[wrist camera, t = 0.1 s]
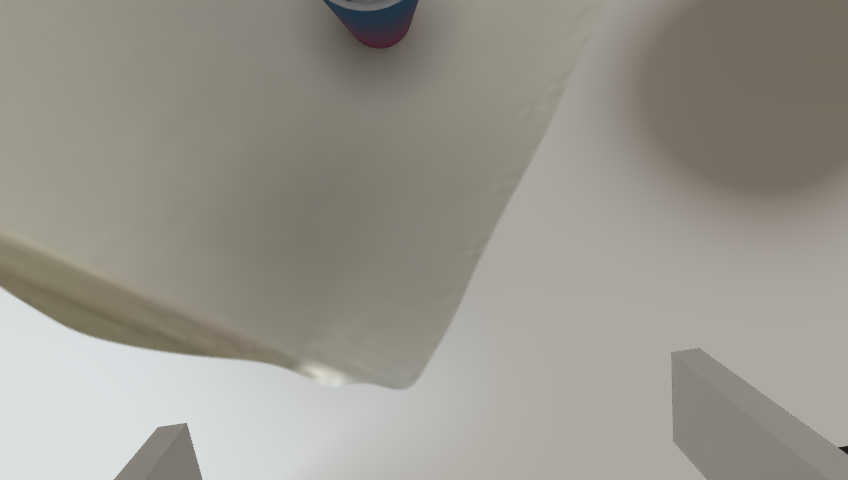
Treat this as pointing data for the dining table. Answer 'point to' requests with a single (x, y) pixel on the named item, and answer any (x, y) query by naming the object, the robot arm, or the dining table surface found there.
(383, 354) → the dining table surface
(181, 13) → the dining table surface
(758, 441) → the robot arm
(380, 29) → the cup
